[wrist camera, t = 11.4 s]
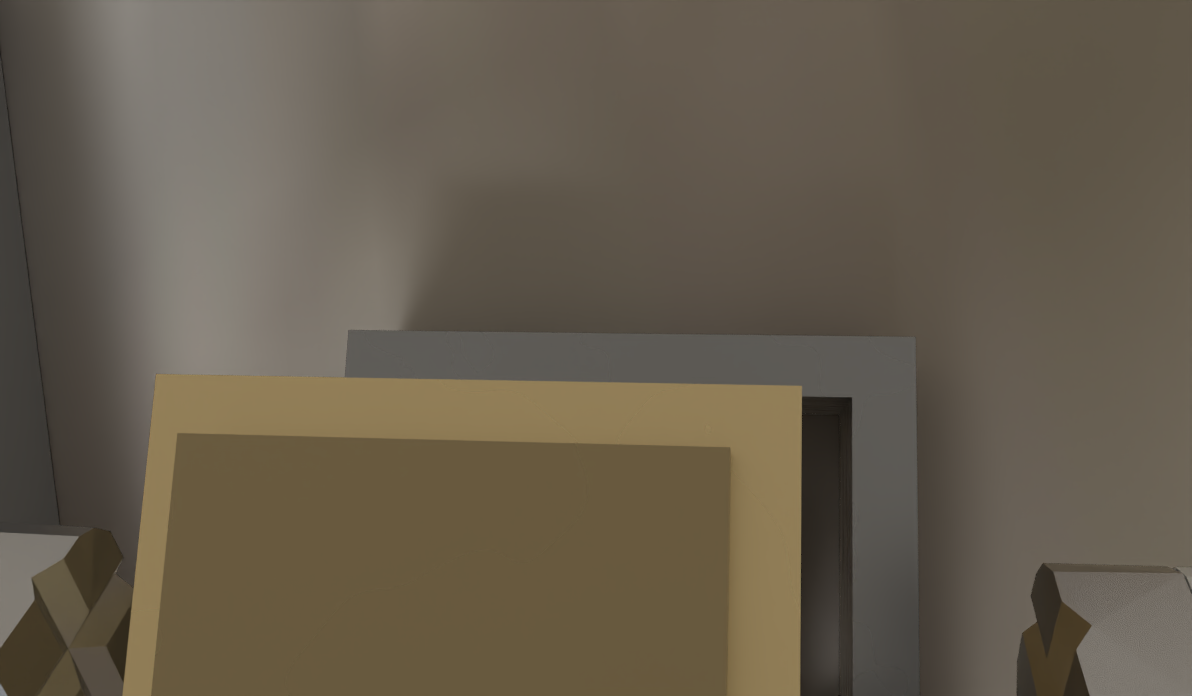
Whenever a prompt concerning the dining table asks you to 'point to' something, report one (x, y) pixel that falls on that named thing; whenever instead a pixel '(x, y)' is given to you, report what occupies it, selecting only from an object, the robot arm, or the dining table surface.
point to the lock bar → (467, 539)
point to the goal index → (817, 363)
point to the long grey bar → (19, 366)
